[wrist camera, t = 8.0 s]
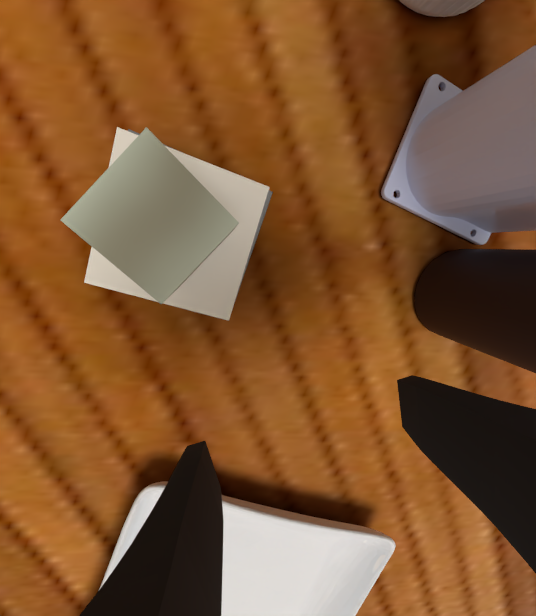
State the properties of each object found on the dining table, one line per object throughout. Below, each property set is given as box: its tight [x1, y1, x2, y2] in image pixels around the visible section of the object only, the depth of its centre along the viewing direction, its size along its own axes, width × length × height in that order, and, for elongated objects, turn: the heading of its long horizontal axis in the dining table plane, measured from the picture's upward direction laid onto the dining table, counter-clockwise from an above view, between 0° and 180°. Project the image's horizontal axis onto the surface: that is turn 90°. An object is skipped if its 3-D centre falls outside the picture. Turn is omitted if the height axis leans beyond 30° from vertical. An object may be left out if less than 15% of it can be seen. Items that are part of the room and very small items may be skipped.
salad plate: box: [99, 481, 396, 616], centre depth 23 cm, size 21×21×3 cm
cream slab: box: [84, 127, 269, 321], centre depth 14 cm, size 7×7×2 cm
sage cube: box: [61, 127, 239, 304], centre depth 11 cm, size 4×4×4 cm
